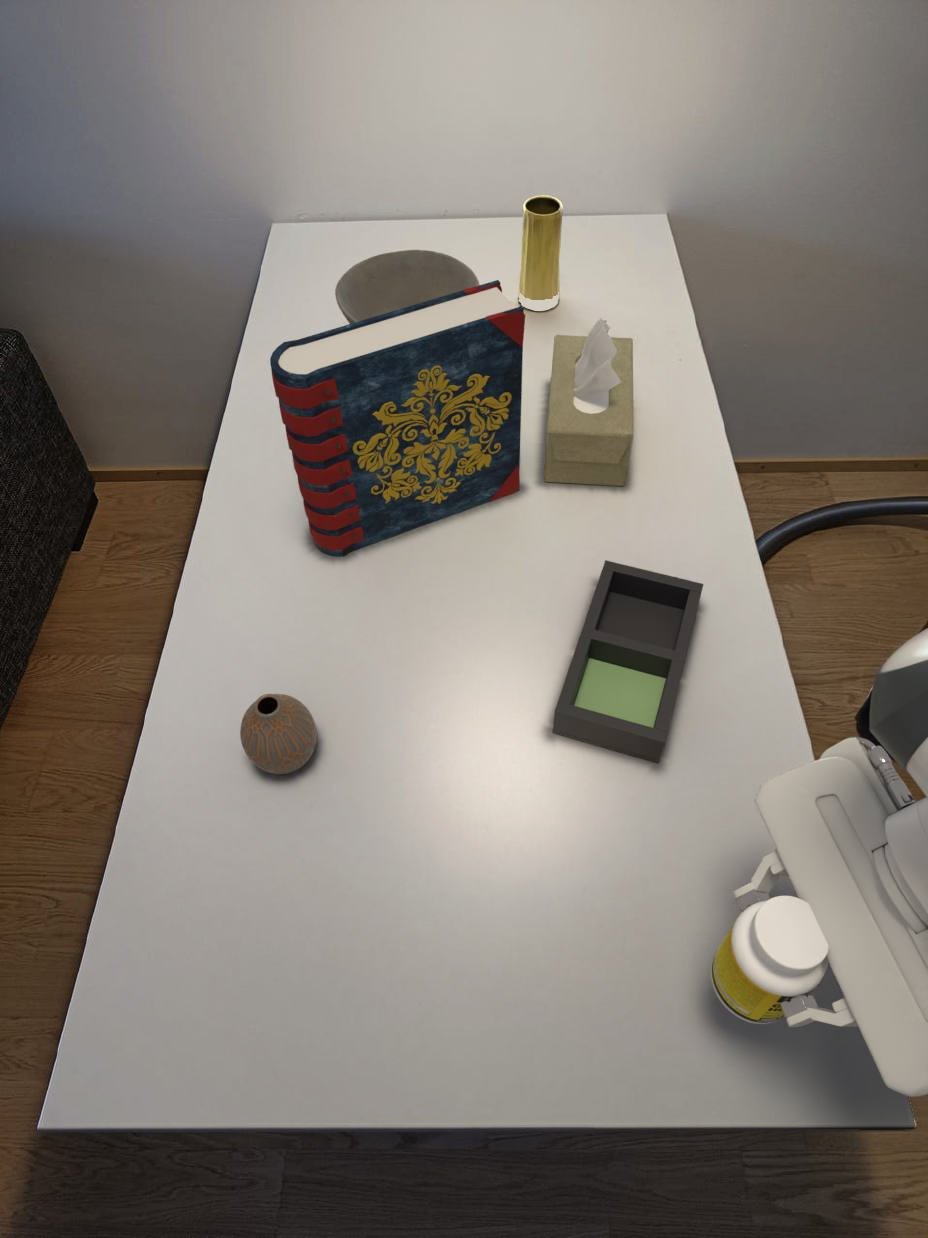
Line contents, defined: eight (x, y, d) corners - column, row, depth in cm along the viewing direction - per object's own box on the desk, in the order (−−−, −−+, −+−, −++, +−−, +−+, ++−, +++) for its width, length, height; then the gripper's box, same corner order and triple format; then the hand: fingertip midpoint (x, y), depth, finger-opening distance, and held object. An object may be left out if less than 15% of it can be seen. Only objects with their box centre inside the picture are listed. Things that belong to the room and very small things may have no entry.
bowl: (382, 414, 115) (374, 349, 107) (324, 338, 125) (312, 274, 117) (506, 366, 120) (506, 301, 112) (440, 298, 130) (436, 234, 122)
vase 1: (334, 759, 85) (320, 712, 78) (270, 797, 83) (249, 753, 76) (300, 709, 88) (284, 660, 81) (238, 744, 86) (215, 696, 79)
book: (323, 565, 100) (280, 387, 80) (303, 525, 103) (257, 345, 83) (522, 493, 105) (528, 311, 86) (496, 457, 109) (496, 275, 89)
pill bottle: (760, 1046, 62) (803, 1005, 53) (691, 977, 65) (721, 927, 56) (813, 984, 64) (863, 935, 55) (744, 921, 67) (781, 864, 58)
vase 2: (552, 315, 127) (558, 220, 115) (511, 307, 128) (513, 212, 117) (564, 292, 130) (571, 197, 119) (525, 284, 131) (528, 190, 120)
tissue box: (625, 488, 105) (642, 380, 93) (543, 484, 106) (549, 376, 94) (625, 387, 117) (641, 279, 104) (551, 384, 118) (558, 276, 105)
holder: (658, 763, 84) (664, 742, 80) (552, 733, 86) (554, 711, 83) (696, 607, 95) (703, 583, 91) (601, 584, 97) (605, 560, 94)
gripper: (850, 714, 57) (682, 812, 64) (1042, 1050, 45) (809, 1128, 52) (889, 735, 61) (727, 825, 68) (1076, 1048, 49) (855, 1120, 56)
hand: (763, 958), depth 60 cm, fingers closed on pill bottle, 6 cm apart
